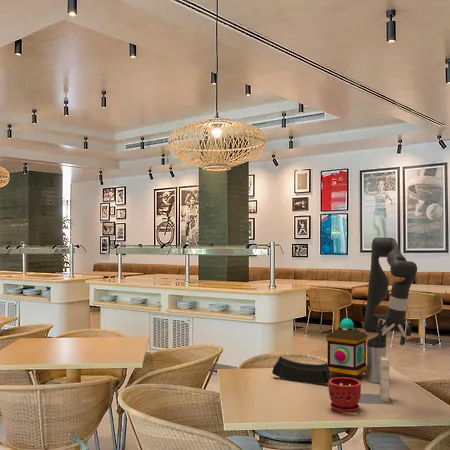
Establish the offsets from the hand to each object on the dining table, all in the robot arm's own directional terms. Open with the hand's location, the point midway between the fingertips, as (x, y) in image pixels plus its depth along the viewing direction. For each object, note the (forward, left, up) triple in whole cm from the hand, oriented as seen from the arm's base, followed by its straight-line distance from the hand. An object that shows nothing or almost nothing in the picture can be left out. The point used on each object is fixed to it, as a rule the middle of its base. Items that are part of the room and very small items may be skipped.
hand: (391, 343), depth 231 cm
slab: (-7, -2, -26) cm, 27 cm away
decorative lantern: (-49, -15, -27) cm, 58 cm away
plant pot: (+8, -20, -27) cm, 34 cm away
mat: (-8, -10, -26) cm, 29 cm away
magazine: (-34, -38, -27) cm, 58 cm away
